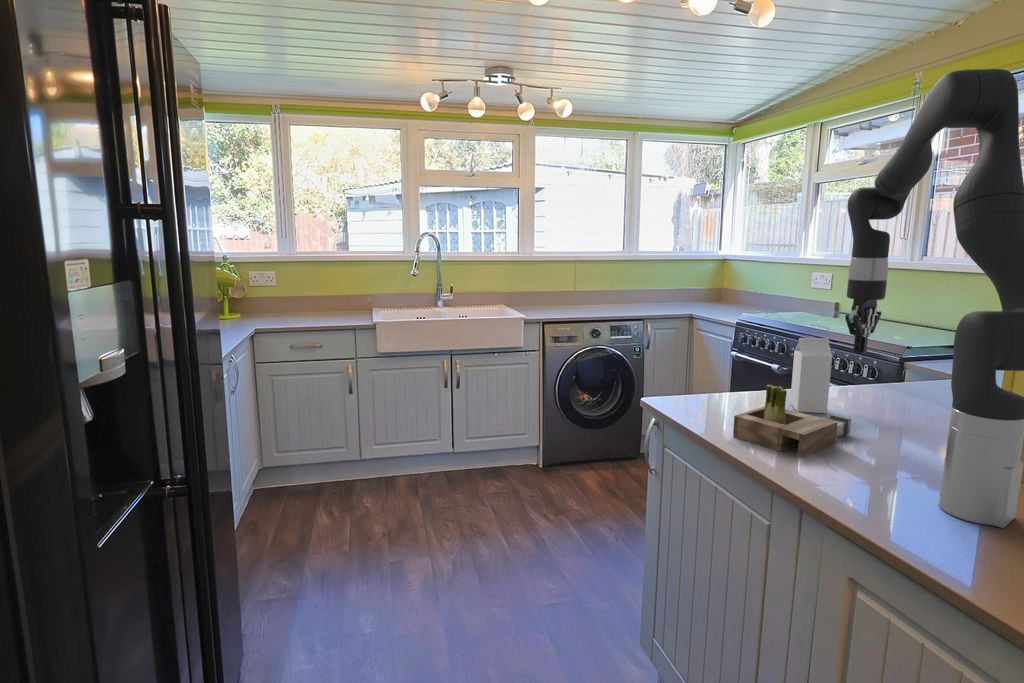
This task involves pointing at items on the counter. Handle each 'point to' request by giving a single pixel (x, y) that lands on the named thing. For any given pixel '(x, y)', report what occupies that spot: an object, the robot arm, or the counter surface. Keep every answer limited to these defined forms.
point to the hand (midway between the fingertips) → (859, 352)
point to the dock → (786, 431)
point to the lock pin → (841, 425)
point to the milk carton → (811, 375)
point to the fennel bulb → (775, 404)
